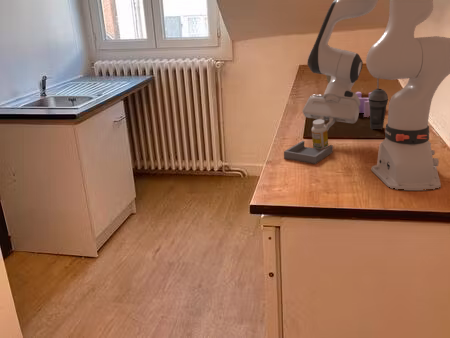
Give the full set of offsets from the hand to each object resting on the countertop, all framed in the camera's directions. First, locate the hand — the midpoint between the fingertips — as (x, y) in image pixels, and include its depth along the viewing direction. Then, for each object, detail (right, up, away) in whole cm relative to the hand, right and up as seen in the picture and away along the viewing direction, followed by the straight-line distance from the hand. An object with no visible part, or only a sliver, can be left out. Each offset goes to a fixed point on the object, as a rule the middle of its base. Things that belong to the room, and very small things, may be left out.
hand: (323, 129), depth 165 cm
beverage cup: (+25, +2, +18) cm, 31 cm away
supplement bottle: (-1, -6, 0) cm, 6 cm away
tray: (-6, -9, -6) cm, 13 cm away
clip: (+27, +11, +43) cm, 51 cm away
